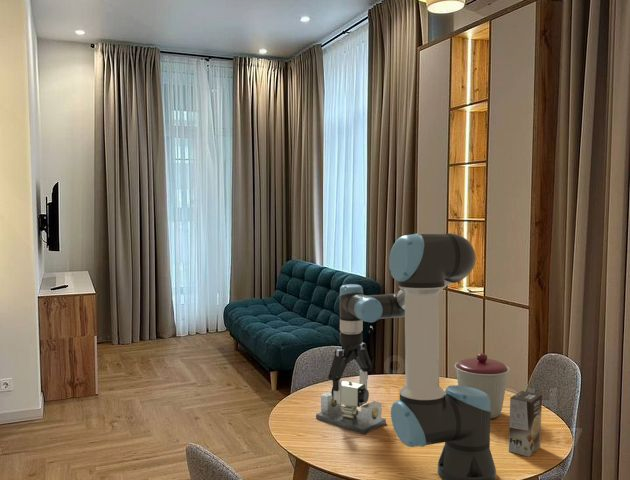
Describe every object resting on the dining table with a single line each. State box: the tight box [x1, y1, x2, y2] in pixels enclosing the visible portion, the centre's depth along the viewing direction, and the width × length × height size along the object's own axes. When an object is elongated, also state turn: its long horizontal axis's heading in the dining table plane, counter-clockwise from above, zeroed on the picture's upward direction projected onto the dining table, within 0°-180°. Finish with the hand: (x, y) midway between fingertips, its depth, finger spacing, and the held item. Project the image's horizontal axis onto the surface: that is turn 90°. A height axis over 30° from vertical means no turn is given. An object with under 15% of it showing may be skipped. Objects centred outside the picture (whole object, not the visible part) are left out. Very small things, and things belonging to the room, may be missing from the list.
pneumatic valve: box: [330, 380, 370, 419], centre depth 198 cm, size 6×12×12 cm, turn 61°
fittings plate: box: [315, 390, 387, 435], centre depth 198 cm, size 20×12×8 cm, turn 48°
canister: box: [454, 352, 511, 420], centre depth 204 cm, size 18×18×21 cm
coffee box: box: [508, 390, 543, 457], centre depth 176 cm, size 9×6×16 cm
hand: (350, 395), depth 198 cm, fingers open, 13 cm apart
